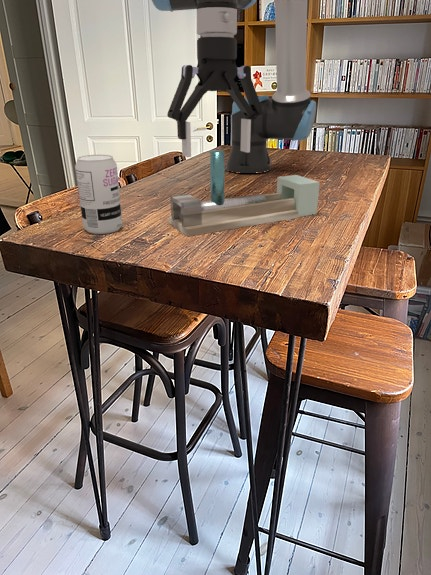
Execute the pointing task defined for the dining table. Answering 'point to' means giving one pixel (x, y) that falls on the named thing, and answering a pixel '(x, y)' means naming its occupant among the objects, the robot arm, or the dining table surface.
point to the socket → (300, 193)
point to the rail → (228, 214)
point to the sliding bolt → (218, 187)
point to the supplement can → (99, 193)
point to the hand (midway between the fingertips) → (216, 154)
